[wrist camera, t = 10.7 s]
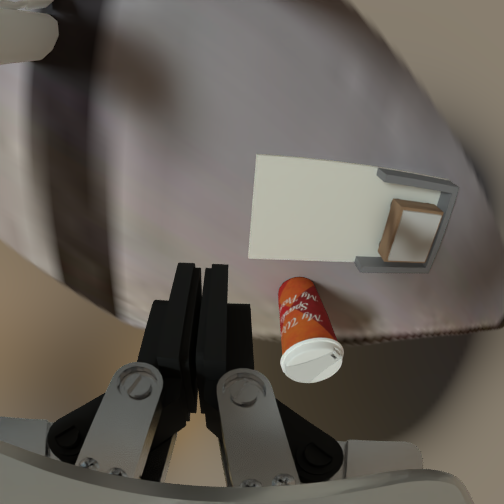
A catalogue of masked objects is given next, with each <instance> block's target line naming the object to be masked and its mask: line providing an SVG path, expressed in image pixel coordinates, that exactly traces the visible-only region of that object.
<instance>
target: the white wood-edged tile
mask: <svg viewBox="0 0 504 504" xmlns="http://www.w3.org/2000/svg"><path fill="white" fill-rule="evenodd" d="M443 213H444V212H443V211H441V210H440V209H439V208H438V207H437V206H436V205H435V204H430V203H422V202H416V201H409V200H401V199H394V198H393V200H392V202H391V204H390V211H389V215H388V218H387V222H386V225H385V229H384V232H383V235H382V239H381V241H380V242H379V248H378V253H379V254H380V256H381V258H382V259H383V261H384V262H407V263H425V262H426V259H427V257H428V254H429V252H430V249H431V246H432V244H433V241H434V238H435V236H436V233H437V230H438V227H439V224H440V222H441V219H442V216H443Z"/></svg>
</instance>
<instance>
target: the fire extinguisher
mask: <svg viewBox="0 0 504 504" xmlns="http://www.w3.org/2000/svg"><path fill="white" fill-rule="evenodd" d="M53 1H54V0H22V1H18V2H12V1H8V0H0V65H2V64H10V63H18V62H28V61H37V60H42V59H43V58H44V57H45V56H46V55H47V54H49V53H50V52H51V51H52V50H53V48H54V45H55V43H56V41H57V38H58V36H59V31H58V21H57V20H55V19H54V18H53V17H52V16H50V15H49V14H44V13H37V12H30V11H22V10H17V9H20V8H24V7H25V9H26V10H30V9H38V8H46V7H47V6H48V5H49V4H51V3H52V2H53ZM1 8H3V9H1Z"/></svg>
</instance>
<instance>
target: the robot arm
mask: <svg viewBox="0 0 504 504" xmlns="http://www.w3.org/2000/svg"><path fill="white" fill-rule="evenodd" d="M227 292H228V265H224V264H212V268H206V269H205V277H204V285H203V293H202V285H201V268H195V263H178V266H177V270H176V274H175V278H174V282H173V286H172V290H171V294H170V298H169V301H164V300H154V302H153V304H152V308H151V311H150V315H149V318H148V322H147V326H146V329H145V333H144V337H143V341H142V345H141V348H140V352H139V356H138V360H137V362H134V363H129V364H127V365H124V366H122V367H121V368H120V369H118V371H116V373H115V374H114V376H113V378H112V380H111V382H110V384H109V386H108V389H107V391H106V393H104V394H102V395H100V396H99V397H97V398H95V399H93V400H92V401H90V402H88V403H86V404H85V405H83V406H81V407H80V408H78V409H76V410H74V411H72V412H71V413H69V414H67V415H65V416H63V417H62V418H60V419H58V420H57V421H56V422H54V423H50V422H48V421H47V420H40V419H22V418H10V417H0V504H474V503H473V500H472V498H471V496H470V494H469V492H468V490H467V488H466V487H465V485H464V484H463V482H461V480H460V479H459V478H457V477H456V476H454V475H452V474H450V473H446V472H442V471H438V470H431V469H423V458H422V455H421V452H420V451H419V449H418V448H417V446H415V445H413V444H411V443H409V442H393V441H363V440H348V441H347V442H342V441H336V440H335V439H334V438H332V437H331V436H329V435H328V434H326V433H325V432H323V431H322V430H320V429H319V428H317V427H316V426H314V425H313V424H311V423H310V422H308V421H307V420H305V419H304V418H303V417H301V416H300V415H298V414H297V413H295V412H294V411H293V410H291V409H290V408H288V407H287V406H285V405H284V404H283V403H281V402H280V401H279V400H277V399H276V398H275V396H274V393H273V389H272V386H271V384H270V382H269V380H268V379H267V378H266V377H265V376H264V375H263V374H261V373H260V372H258V371H256V370H254V360H253V343H252V325H251V309H250V304H229V303H227ZM198 391H199V399H200V407H201V413H203V414H205V417H206V426H207V428H208V429H209V430H210V431H211V432H212V433H213V434H215V435H216V436H217V437H218V441H219V447H220V453H221V459H222V465H223V470H224V476H225V481H226V486H227V487H208V486H207V487H206V486H192V485H180V484H170V483H164V482H165V479H166V474H167V471H168V467H169V463H170V460H171V456H172V452H173V448H174V445H175V441H176V437H177V432H178V431H179V430H181V429H182V428H184V427H185V426H186V421H190V413H196V410H197V395H198Z"/></svg>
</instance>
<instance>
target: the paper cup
mask: <svg viewBox="0 0 504 504" xmlns="http://www.w3.org/2000/svg"><path fill="white" fill-rule="evenodd" d="M278 299H279V314H280V328H281V341H282V354H283V355H282V358H281V362H280V363H281V367H282V370H283V372H284V373H285V374H286V376H288V377H289V378H291V379H292V380H294V381H297V382H303V383H312V382H318V381H321V380H324V379H326V378H328V377H330V376H332V375H333V374H335V373H336V372H337V370H338V369H339V368H340V367H341V364H342V358H343V355H344V350H343V347H342V345H341V344H340V343H339V342H338V341H337V339H336V336H335V334H334V331H333V328H332V326H331V323H330V320H329V317H328V315H327V313H326V310H325V308H324V306H323V304H322V301H321V299H320V296H319V294H318V292H317V290H316V287H315V285H314V284H313V282H312V281H311V280H309V279H307V278H304V277H294V278H291V279H289V280H287V281H285V282H284V283H283V284H282V285H281V287H280V289H279V293H278Z"/></svg>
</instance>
